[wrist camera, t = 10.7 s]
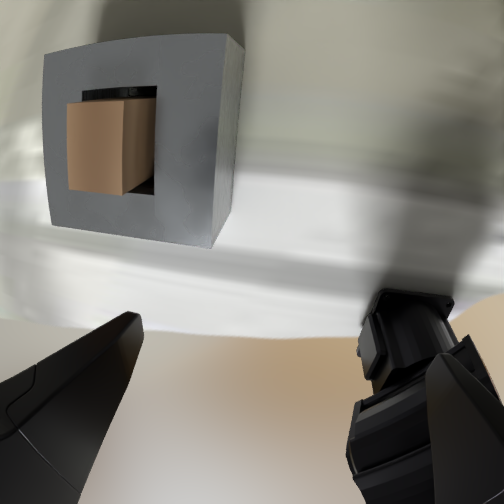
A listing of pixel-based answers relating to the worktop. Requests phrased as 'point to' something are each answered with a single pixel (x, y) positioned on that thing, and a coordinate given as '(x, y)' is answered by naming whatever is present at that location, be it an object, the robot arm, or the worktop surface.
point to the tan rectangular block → (111, 143)
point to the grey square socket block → (166, 134)
